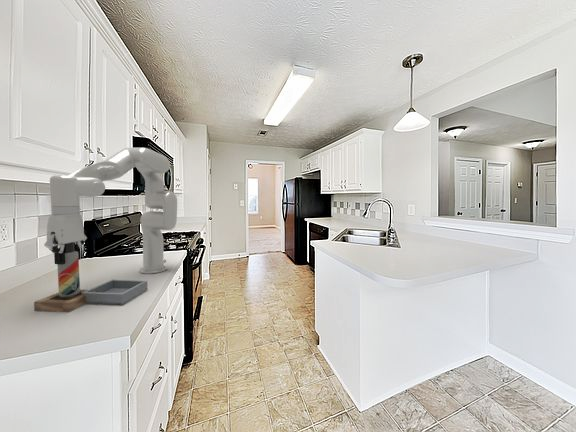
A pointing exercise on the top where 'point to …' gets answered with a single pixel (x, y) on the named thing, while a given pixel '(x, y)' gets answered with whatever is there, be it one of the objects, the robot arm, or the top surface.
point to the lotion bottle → (69, 272)
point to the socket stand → (60, 302)
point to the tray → (115, 292)
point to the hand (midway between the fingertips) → (68, 261)
